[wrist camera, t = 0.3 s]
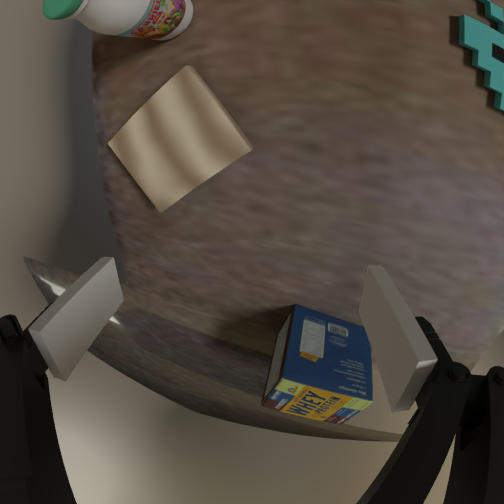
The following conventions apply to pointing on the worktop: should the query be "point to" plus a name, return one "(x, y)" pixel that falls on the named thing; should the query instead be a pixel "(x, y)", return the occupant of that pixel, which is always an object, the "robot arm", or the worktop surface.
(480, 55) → the alien figure
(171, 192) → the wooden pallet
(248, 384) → the worktop surface
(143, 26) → the milk bottle
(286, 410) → the protein box
